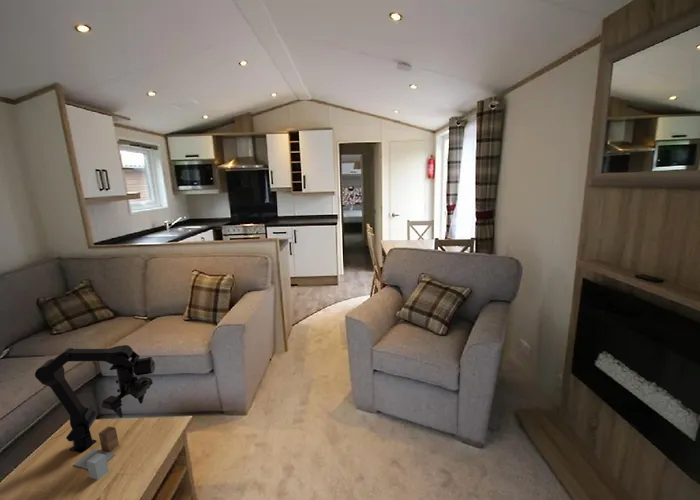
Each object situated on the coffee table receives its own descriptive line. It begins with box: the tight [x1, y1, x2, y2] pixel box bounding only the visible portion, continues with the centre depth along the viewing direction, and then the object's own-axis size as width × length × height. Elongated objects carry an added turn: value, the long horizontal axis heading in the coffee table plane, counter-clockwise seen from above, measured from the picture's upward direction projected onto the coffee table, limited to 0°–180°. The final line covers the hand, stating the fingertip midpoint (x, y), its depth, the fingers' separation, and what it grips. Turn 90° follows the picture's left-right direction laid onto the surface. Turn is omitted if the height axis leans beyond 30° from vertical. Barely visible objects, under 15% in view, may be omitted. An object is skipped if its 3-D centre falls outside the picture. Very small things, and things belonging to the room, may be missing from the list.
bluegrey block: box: [86, 453, 109, 481], centre depth 124 cm, size 4×4×7 cm
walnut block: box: [98, 425, 120, 453], centre depth 136 cm, size 4×4×8 cm
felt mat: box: [73, 448, 116, 470], centre depth 131 cm, size 11×8×1 cm
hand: (131, 410), depth 141 cm, fingers open, 9 cm apart
